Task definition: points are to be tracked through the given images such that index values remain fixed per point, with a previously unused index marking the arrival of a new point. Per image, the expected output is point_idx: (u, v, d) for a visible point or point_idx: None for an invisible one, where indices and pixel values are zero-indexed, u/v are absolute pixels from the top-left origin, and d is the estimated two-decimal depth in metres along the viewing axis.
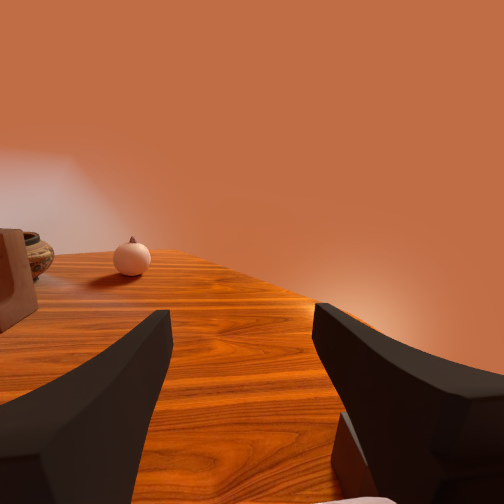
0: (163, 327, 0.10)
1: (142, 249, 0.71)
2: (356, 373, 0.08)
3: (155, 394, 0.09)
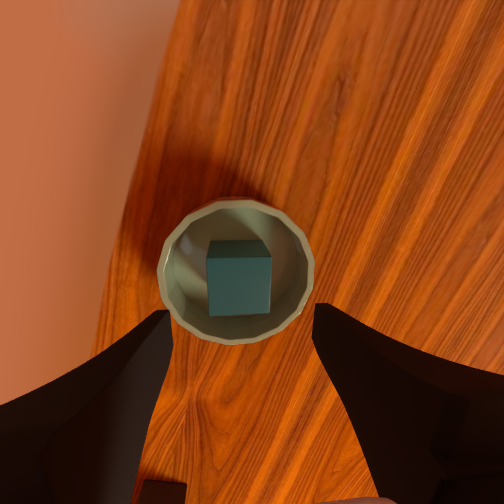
0: (163, 327, 0.10)
1: None
2: (356, 373, 0.08)
3: (155, 394, 0.09)
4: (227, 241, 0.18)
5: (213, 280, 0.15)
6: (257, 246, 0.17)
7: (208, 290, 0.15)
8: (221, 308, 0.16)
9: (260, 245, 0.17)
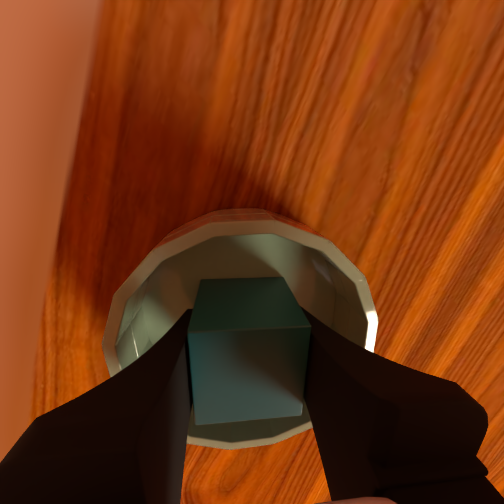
0: None
1: None
2: (315, 376, 0.08)
3: None
4: (228, 282, 0.11)
5: (203, 369, 0.08)
6: (279, 294, 0.10)
7: (193, 386, 0.08)
8: (218, 412, 0.09)
9: (283, 290, 0.10)
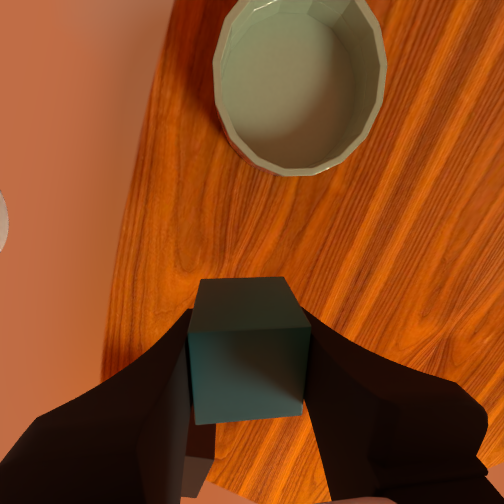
0: None
1: None
2: (315, 376, 0.08)
3: None
4: (229, 282, 0.11)
5: (203, 369, 0.08)
6: (279, 294, 0.10)
7: (193, 386, 0.08)
8: (218, 412, 0.09)
9: (283, 290, 0.10)
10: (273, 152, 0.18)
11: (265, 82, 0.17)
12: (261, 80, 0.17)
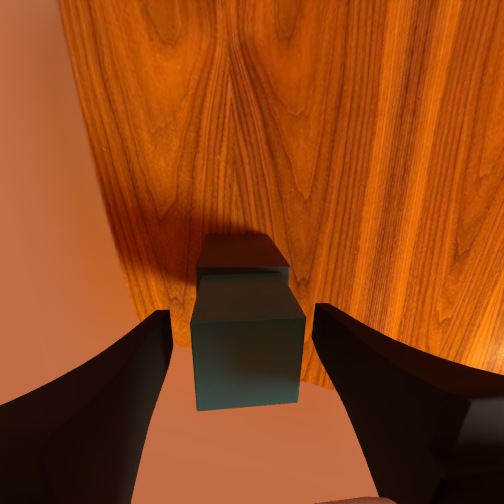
0: (163, 327, 0.10)
1: None
2: (356, 373, 0.08)
3: (155, 394, 0.09)
4: (228, 277, 0.12)
5: (204, 357, 0.09)
6: (276, 289, 0.11)
7: (195, 373, 0.09)
8: (218, 398, 0.09)
9: (280, 285, 0.11)
10: None
11: None
12: None
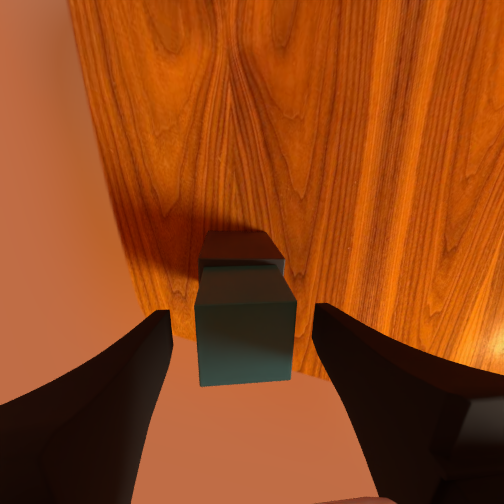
0: (163, 327, 0.10)
1: None
2: (356, 373, 0.08)
3: (155, 394, 0.09)
4: (228, 268, 0.13)
5: (207, 337, 0.10)
6: (271, 278, 0.12)
7: (199, 352, 0.10)
8: (219, 375, 0.10)
9: (275, 275, 0.12)
10: None
11: None
12: None
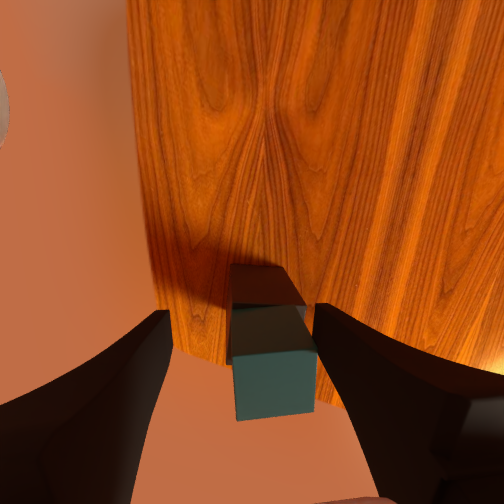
0: (163, 327, 0.10)
1: None
2: (356, 373, 0.08)
3: (155, 394, 0.09)
4: (253, 311, 0.15)
5: (242, 381, 0.11)
6: (292, 321, 0.13)
7: (235, 393, 0.12)
8: (253, 411, 0.12)
9: (295, 317, 0.14)
10: None
11: None
12: None
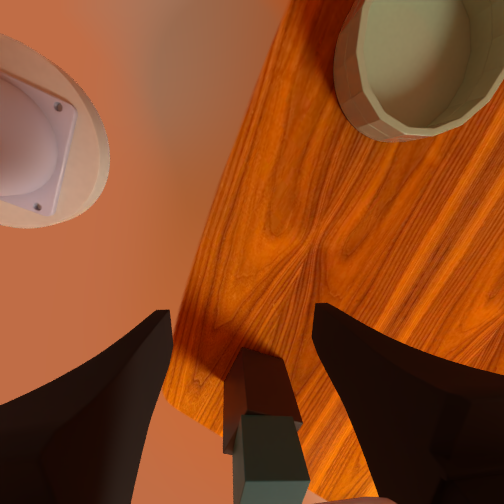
0: (163, 327, 0.10)
1: None
2: (356, 373, 0.08)
3: (155, 394, 0.09)
4: (259, 420, 0.18)
5: (247, 497, 0.14)
6: (291, 441, 0.17)
7: None
8: None
9: (293, 436, 0.17)
10: None
11: (386, 42, 0.17)
12: (383, 39, 0.17)
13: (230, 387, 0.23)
